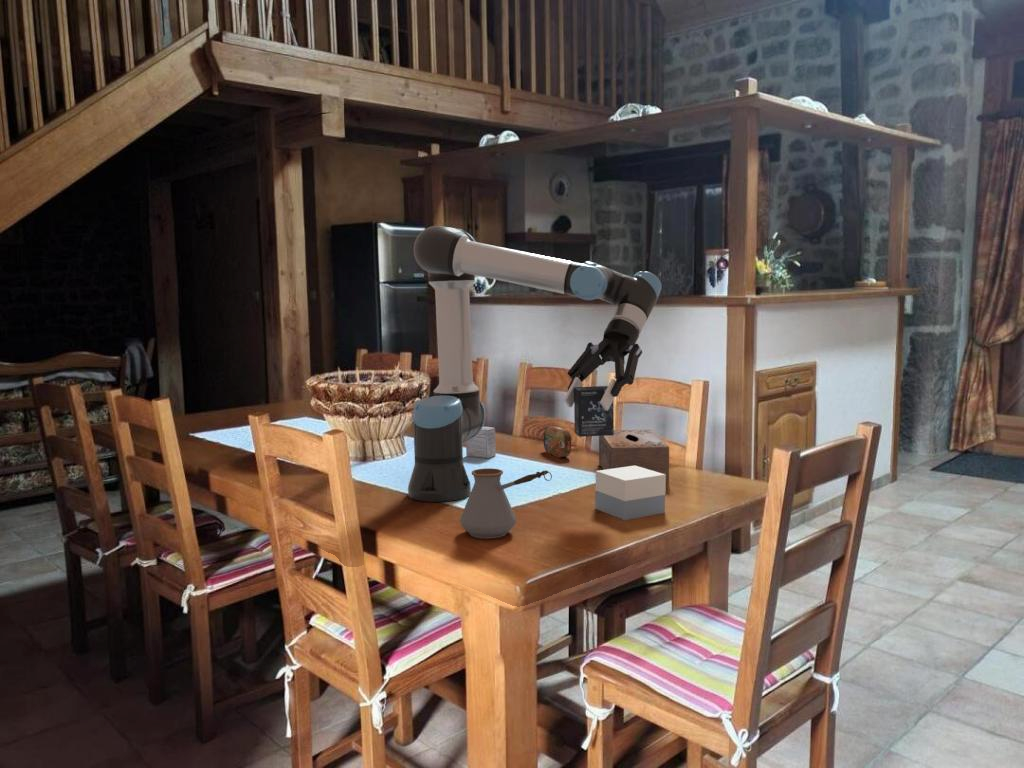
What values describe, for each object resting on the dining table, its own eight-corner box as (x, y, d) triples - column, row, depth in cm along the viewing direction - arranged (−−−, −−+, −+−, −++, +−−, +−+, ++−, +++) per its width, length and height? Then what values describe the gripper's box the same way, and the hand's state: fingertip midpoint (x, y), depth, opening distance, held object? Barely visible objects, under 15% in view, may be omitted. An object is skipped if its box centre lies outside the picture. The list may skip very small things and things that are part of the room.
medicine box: (496, 456, 249) (495, 427, 248) (487, 458, 245) (487, 429, 244) (474, 453, 253) (473, 425, 252) (465, 456, 249) (465, 427, 248)
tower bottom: (624, 521, 179) (624, 501, 179) (595, 510, 189) (595, 490, 189) (664, 514, 185) (665, 494, 184) (634, 503, 194) (634, 484, 194)
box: (579, 437, 183) (578, 389, 182) (574, 433, 188) (573, 386, 187) (614, 435, 184) (613, 388, 183) (608, 431, 189) (607, 385, 188)
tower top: (624, 501, 179) (625, 480, 179) (595, 490, 189) (595, 470, 188) (665, 494, 184) (665, 474, 184) (635, 484, 194) (635, 465, 193)
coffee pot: (448, 535, 170) (446, 462, 168) (484, 522, 179) (483, 453, 177) (532, 554, 157) (531, 476, 155) (567, 539, 166) (566, 465, 164)
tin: (542, 451, 256) (542, 424, 255) (551, 450, 257) (551, 423, 256) (563, 460, 242) (563, 431, 241) (573, 459, 243) (573, 430, 242)
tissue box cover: (668, 486, 210) (669, 446, 209) (611, 486, 210) (611, 447, 209) (650, 464, 236) (650, 429, 235) (599, 465, 236) (599, 430, 235)
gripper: (672, 339, 188) (634, 419, 178) (592, 338, 202) (553, 411, 192) (659, 317, 184) (620, 397, 174) (579, 317, 198) (538, 391, 188)
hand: (585, 405), depth 183 cm, fingers closed on box, 9 cm apart
